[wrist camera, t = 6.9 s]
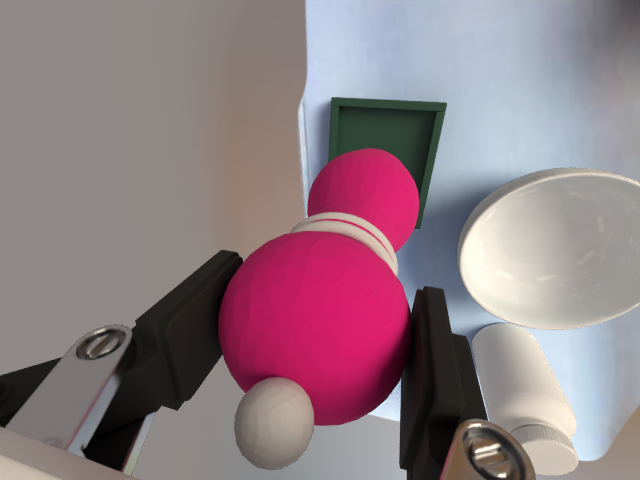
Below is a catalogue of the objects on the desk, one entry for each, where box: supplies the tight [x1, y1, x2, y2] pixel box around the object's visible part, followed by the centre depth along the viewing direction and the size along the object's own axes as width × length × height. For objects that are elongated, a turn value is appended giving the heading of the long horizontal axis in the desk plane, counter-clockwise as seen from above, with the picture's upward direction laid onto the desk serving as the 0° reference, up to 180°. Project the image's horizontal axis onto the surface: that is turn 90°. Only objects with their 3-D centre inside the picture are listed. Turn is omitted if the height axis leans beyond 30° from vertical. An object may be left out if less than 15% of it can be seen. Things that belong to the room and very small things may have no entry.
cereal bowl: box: [457, 167, 640, 330], centre depth 30 cm, size 17×17×7 cm
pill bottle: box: [472, 323, 578, 475], centre depth 34 cm, size 8×8×15 cm
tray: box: [328, 97, 447, 229], centre depth 33 cm, size 14×12×2 cm
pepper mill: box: [218, 148, 419, 470], centre depth 14 cm, size 7×7×20 cm
